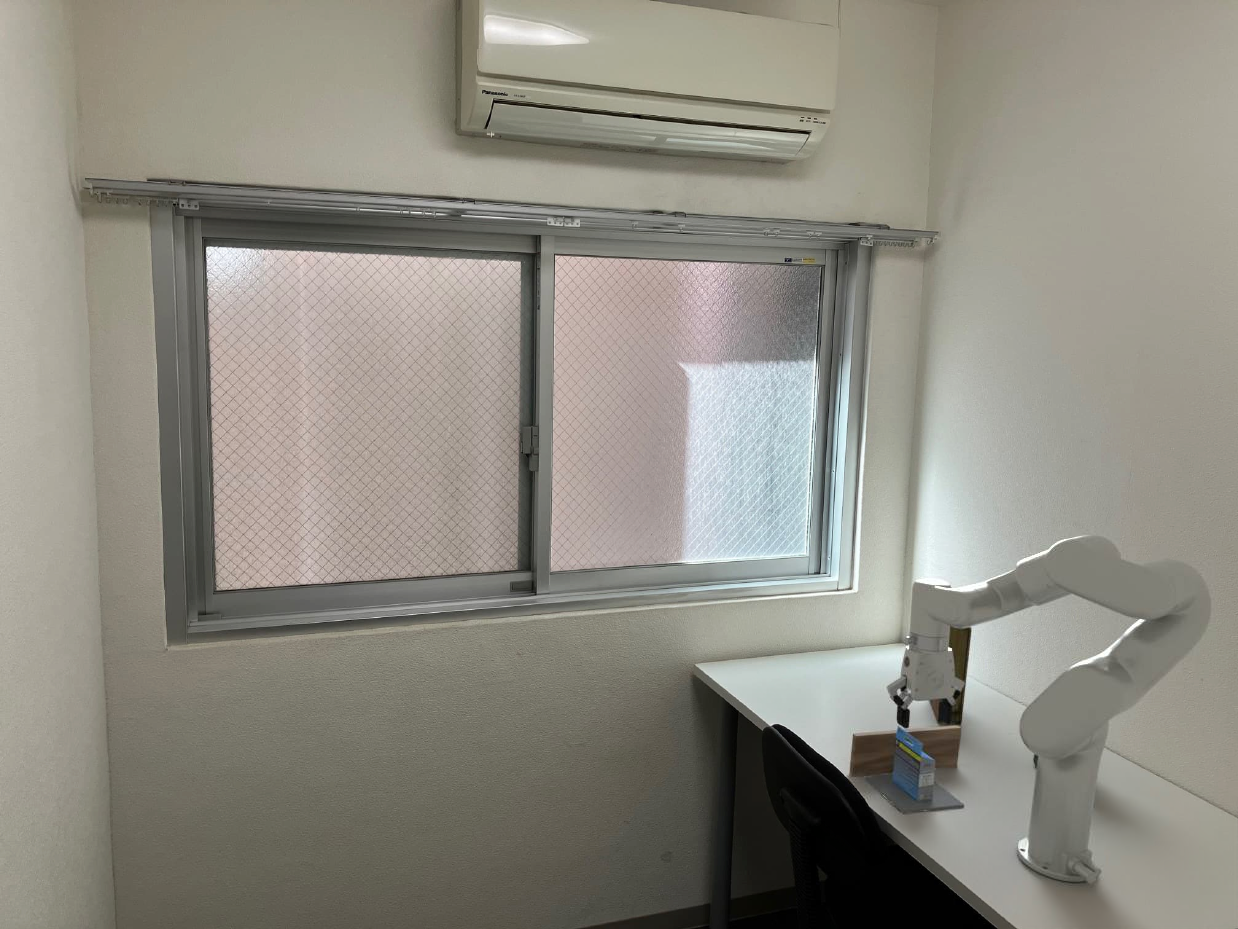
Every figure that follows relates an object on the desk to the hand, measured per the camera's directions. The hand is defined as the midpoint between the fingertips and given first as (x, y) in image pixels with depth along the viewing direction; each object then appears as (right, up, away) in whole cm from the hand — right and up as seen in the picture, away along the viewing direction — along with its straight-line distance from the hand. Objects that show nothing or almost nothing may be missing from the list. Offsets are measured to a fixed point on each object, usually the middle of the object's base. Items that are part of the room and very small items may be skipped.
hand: (923, 723), depth 176 cm
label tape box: (-2, -15, +3) cm, 15 cm away
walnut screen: (0, -14, +12) cm, 18 cm away
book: (+21, -11, +45) cm, 51 cm away
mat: (-1, -15, +3) cm, 15 cm away
